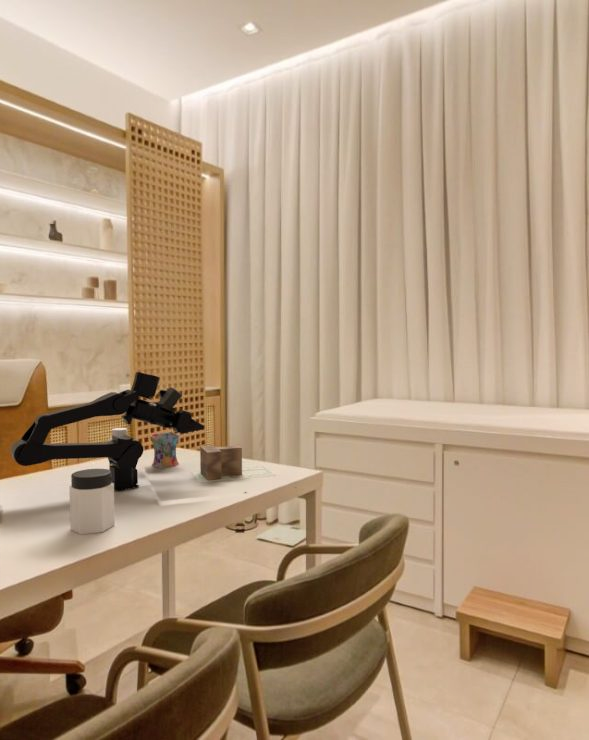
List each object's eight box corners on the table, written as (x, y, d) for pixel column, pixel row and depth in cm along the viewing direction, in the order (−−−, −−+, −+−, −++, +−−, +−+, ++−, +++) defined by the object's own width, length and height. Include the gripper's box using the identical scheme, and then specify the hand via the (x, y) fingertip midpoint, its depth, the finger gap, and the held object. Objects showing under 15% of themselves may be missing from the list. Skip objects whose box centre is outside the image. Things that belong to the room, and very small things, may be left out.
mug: (175, 471, 168) (174, 437, 167) (146, 471, 168) (145, 437, 168) (185, 463, 180) (185, 431, 179) (158, 462, 180) (158, 431, 180)
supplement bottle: (132, 470, 169) (131, 429, 169) (109, 472, 167) (109, 431, 166) (130, 465, 176) (129, 426, 175) (108, 467, 173) (107, 428, 173)
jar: (120, 527, 116) (119, 472, 115) (84, 537, 110) (83, 479, 109) (100, 518, 122) (99, 466, 121) (65, 527, 116) (63, 472, 116)
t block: (207, 480, 152) (207, 452, 152) (200, 472, 161) (200, 446, 161) (245, 476, 156) (244, 449, 156) (236, 469, 165) (235, 443, 165)
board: (199, 486, 150) (199, 482, 150) (191, 475, 162) (191, 472, 162) (276, 478, 158) (276, 475, 158) (262, 469, 170) (262, 466, 170)
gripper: (169, 387, 145) (219, 402, 154) (146, 383, 161) (192, 397, 169) (157, 427, 144) (207, 440, 153) (134, 419, 159) (181, 431, 168)
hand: (197, 425), depth 161 cm, fingers open, 9 cm apart
